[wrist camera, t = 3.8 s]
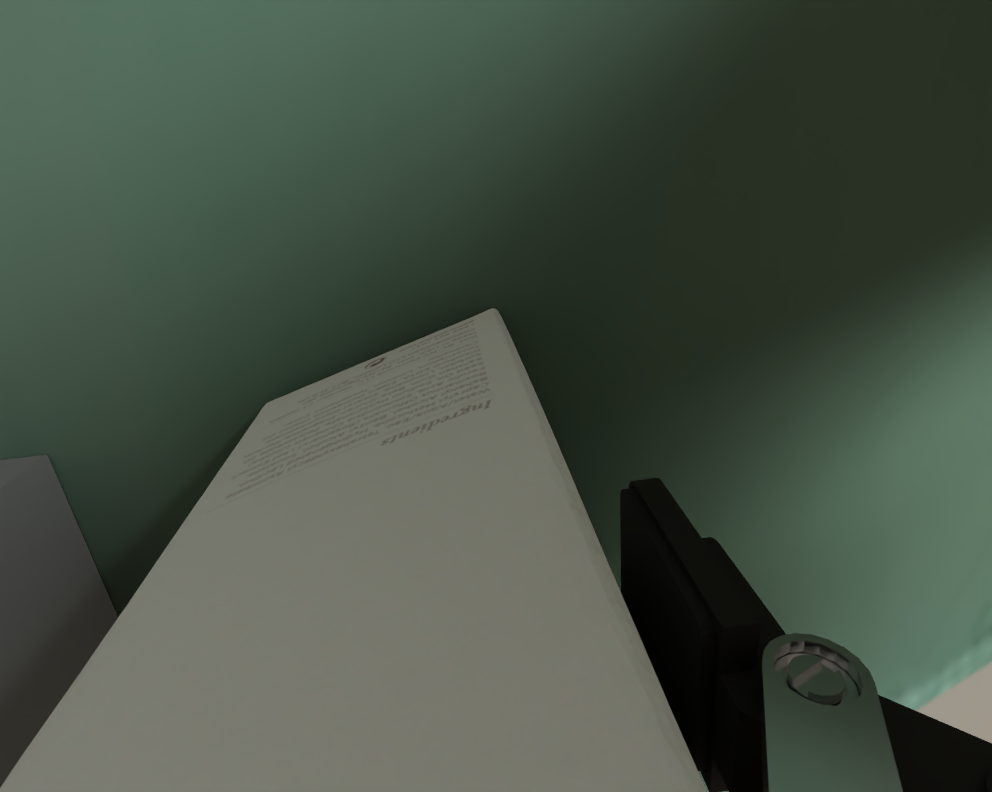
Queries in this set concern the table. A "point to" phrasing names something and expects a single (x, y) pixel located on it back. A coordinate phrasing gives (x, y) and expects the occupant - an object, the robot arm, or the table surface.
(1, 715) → the bin
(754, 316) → the table surface
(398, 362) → the small box
